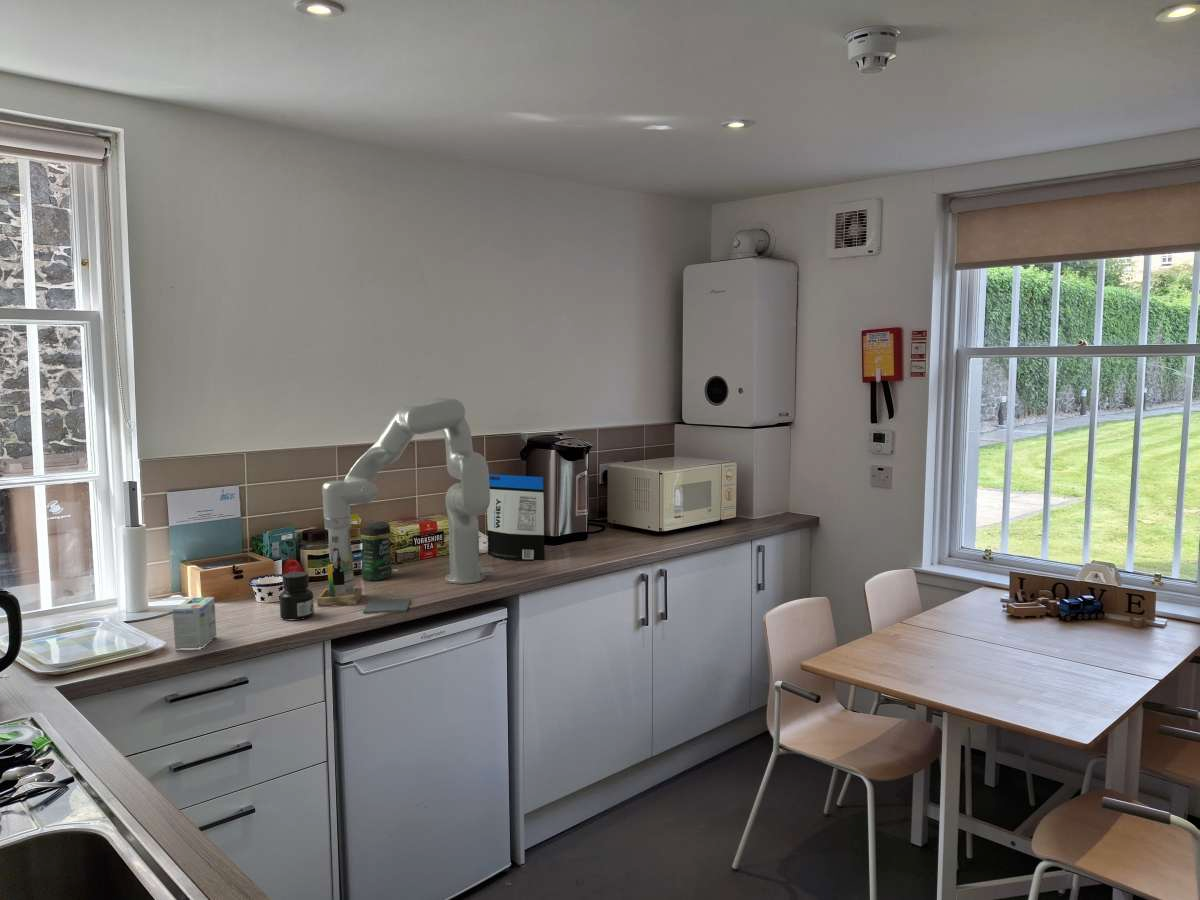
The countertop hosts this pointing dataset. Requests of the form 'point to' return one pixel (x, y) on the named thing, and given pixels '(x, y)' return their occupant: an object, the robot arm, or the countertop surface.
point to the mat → (387, 605)
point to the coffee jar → (375, 551)
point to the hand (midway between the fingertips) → (341, 580)
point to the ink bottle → (296, 596)
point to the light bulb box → (194, 622)
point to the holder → (339, 598)
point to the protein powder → (516, 518)
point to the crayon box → (348, 578)
